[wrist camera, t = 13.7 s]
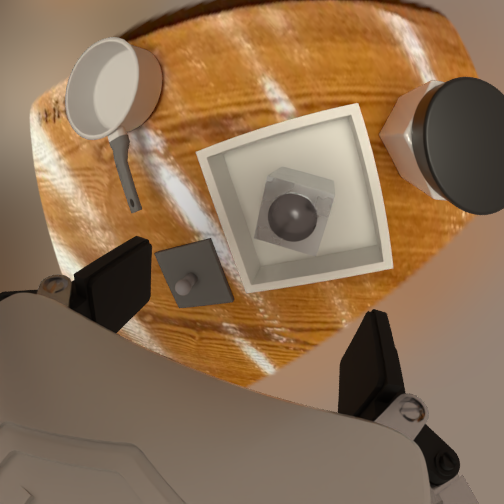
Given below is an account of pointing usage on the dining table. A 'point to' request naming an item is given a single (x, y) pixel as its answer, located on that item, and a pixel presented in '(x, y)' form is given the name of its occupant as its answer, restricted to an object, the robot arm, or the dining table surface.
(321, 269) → the bin
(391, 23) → the dining table surface
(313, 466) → the robot arm
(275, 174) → the metal block
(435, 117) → the jar
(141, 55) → the saucepan
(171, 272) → the ball stud
